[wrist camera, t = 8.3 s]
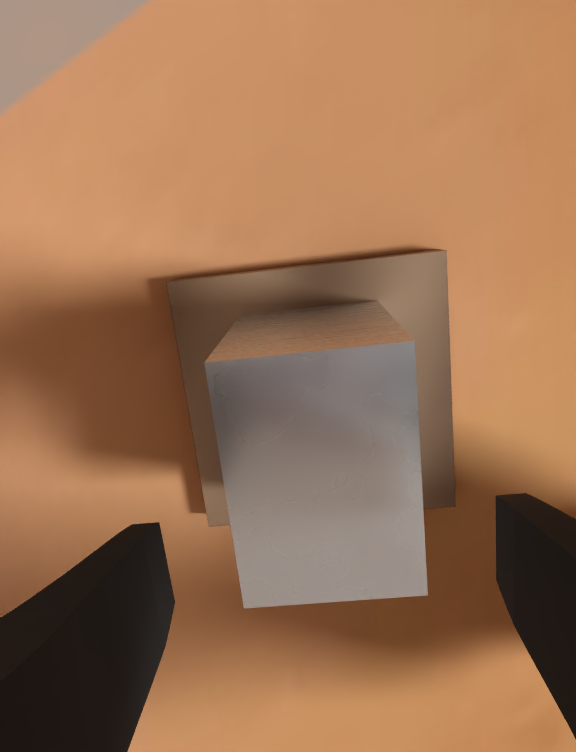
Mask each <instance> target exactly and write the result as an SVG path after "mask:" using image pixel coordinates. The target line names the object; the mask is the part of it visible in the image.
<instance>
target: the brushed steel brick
mask: <svg viewBox="0 0 576 752" xmlns="http://www.w3.org/2000/svg"><path fill="white" fill-rule="evenodd" d="M204 364H205V370H206V376H207V383H208V389H209V395H210V401H211V407H212V414H213V420H214V426H215V432H216V438H217V445H218V451H219V457H220V463H221V470H222V476H223V482H224V488H225V494H226V501H227V507H228V513H229V519H230V525H231V532H232V538H233V544H234V550H235V556H236V563H237V569H238V575H239V581H240V588H241V594H242V600H243V606H244V608H257V607H272V606H286V605H300V604H314V603H328V602H342V601H356V600H370V599H384V598H398V597H412V596H426V595H428V588H427V569H426V550H425V531H424V512H423V493H422V474H421V455H420V436H419V417H418V398H417V379H416V360H415V341H414V340H413V339H412V338H411V337H410V335H409V334H408V333H407V332H406V331H405V330H404V329H403V328H402V327H401V326H400V324H399V323H398V322H397V321H396V320H395V319H394V318H393V317H392V316H391V315H390V313H389V312H388V311H387V310H386V309H385V308H384V307H383V306H382V305H381V303H380V302H379V301H378V300H377V301H368V302H359V303H350V304H340V305H331V306H322V307H313V308H303V309H294V310H285V311H276V312H267V313H257V314H248V315H240V316H239V318H238V319H237V320H236V322H235V323H234V324H233V326H232V327H231V328H230V330H229V331H228V332H227V334H226V335H225V336H224V337H223V339H222V340H221V341H220V343H219V344H218V345H217V347H216V348H215V349H214V351H213V352H212V353H211V355H210V356H209V357H208V358H207V360H206V361H205V362H204Z"/></svg>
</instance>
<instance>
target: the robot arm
mask: <svg viewBox="0 0 576 752" xmlns="http://www.w3.org/2000/svg"><path fill="white" fill-rule="evenodd" d="M496 580H497V583H498V585H499V588H500V591H501V593H502V596H503V599H504V601H505V604H506V607H507V609H508V612H509V614H510V616H511V619H512V621H513V624H514V626H515V628H516V630H517V632H518V634H519V635H520V637H521V639H522V641H523V643H524V645H525V647H526V648H527V650H528V652H529V654H530V656H531V658H532V660H533V661H534V663H535V665H536V667H537V669H538V671H539V672H540V674H541V676H542V678H543V680H544V681H545V683H546V685H547V687H548V689H549V691H550V692H551V694H552V696H553V698H554V700H555V701H556V703H557V705H558V707H559V709H560V711H561V712H562V714H563V716H564V718H565V720H566V722H567V723H568V725H569V727H570V729H571V731H572V733H573V735H574V737H575V739H576V519H574V518H572V517H570V516H569V515H567V514H565V513H563V512H561V511H559V510H558V509H556V508H554V507H552V506H550V505H548V504H547V503H545V502H543V501H541V500H539V499H537V498H535V497H533V496H531V495H528V494H526V493H523V494H511V495H498V496H496ZM174 604H175V600H174V595H173V590H172V585H171V580H170V575H169V570H168V565H167V559H166V554H165V549H164V544H163V539H162V534H161V529H160V524H159V522H158V523H145V524H133V525H131V526H129V527H127V528H126V529H124V530H123V531H121V532H120V533H118V534H117V535H116V536H114V537H113V538H112V539H110V540H109V541H108V542H106V543H105V544H104V545H102V546H101V547H100V548H98V549H97V550H96V551H94V552H93V553H92V554H90V555H89V556H88V557H87V558H85V559H84V560H83V561H81V562H80V563H79V564H77V565H76V566H75V567H73V568H72V569H71V570H69V571H68V572H67V573H65V574H64V575H63V576H61V577H60V578H58V579H57V580H56V581H54V582H53V583H51V584H50V585H48V586H47V587H46V588H44V589H43V590H41V591H40V592H39V593H37V594H36V595H34V596H33V597H31V598H30V599H29V600H27V601H26V602H24V603H23V604H21V605H20V606H18V607H17V608H15V609H14V610H12V611H11V612H9V613H7V614H6V615H4V616H3V617H1V618H0V752H127V751H128V748H129V746H130V743H131V740H132V737H133V735H134V732H135V729H136V726H137V724H138V721H139V718H140V716H141V713H142V710H143V707H144V705H145V702H146V699H147V696H148V694H149V691H150V688H151V685H152V683H153V680H154V677H155V674H156V672H157V669H158V666H159V663H160V660H161V657H162V655H163V652H164V649H165V646H166V641H167V637H168V633H169V628H170V624H171V619H172V614H173V609H174Z"/></svg>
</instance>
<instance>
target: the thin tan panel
mask: <svg viewBox="0 0 576 752" xmlns="http://www.w3.org/2000/svg"><path fill="white" fill-rule="evenodd" d="M166 284H167V290H168V295H169V301H170V307H171V313H172V318H173V324H174V330H175V336H176V341H177V347H178V353H179V359H180V364H181V370H182V376H183V382H184V388H185V393H186V399H187V405H188V411H189V416H190V422H191V428H192V434H193V439H194V445H195V451H196V457H197V462H198V468H199V474H200V480H201V486H202V491H203V497H204V503H205V509H206V514H207V520H208V526H209V527H212V526H225V525H230V519H229V513H228V507H227V501H226V494H225V488H224V482H223V476H222V470H221V463H220V457H219V451H218V445H217V438H216V432H215V426H214V420H213V414H212V407H211V401H210V395H209V389H208V383H207V376H206V370H205V364H204V362H205V361H206V360H207V358H208V357H209V356H210V355H211V353H212V352H213V351H214V349H215V348H216V347H217V345H218V344H219V343H220V341H221V340H222V339H223V337H224V336H225V335H226V334H227V332H228V331H229V330H230V328H231V327H232V326H233V324H234V323H235V322H236V320H237V319H238V318H239V316H240V315H248V314H257V313H267V312H276V311H285V310H294V309H303V308H313V307H322V306H331V305H340V304H350V303H359V302H368V301H377V300H378V301H379V302H380V303H381V305H382V306H383V307H384V308H385V309H386V310H387V311H388V312H389V313H390V315H391V316H392V317H393V318H394V319H395V320H396V321H397V322H398V323H399V324H400V326H401V327H402V328H403V329H404V330H405V331H406V332H407V333H408V334H409V335H410V337H411V338H412V339H413V340H414V341H415V360H416V379H417V398H418V417H419V436H420V455H421V474H422V493H423V509H432V508H444V507H455V479H454V450H453V422H452V393H451V364H450V336H449V307H448V278H447V251H446V250H441V249H438V250H429V251H421V252H412V253H403V254H394V255H386V256H377V257H368V258H359V259H351V260H342V261H333V262H324V263H316V264H307V265H298V266H289V267H280V268H272V269H263V270H254V271H245V272H237V273H228V274H219V275H210V276H202V277H193V278H184V279H175V280H171V281H169V282H166Z"/></svg>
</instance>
